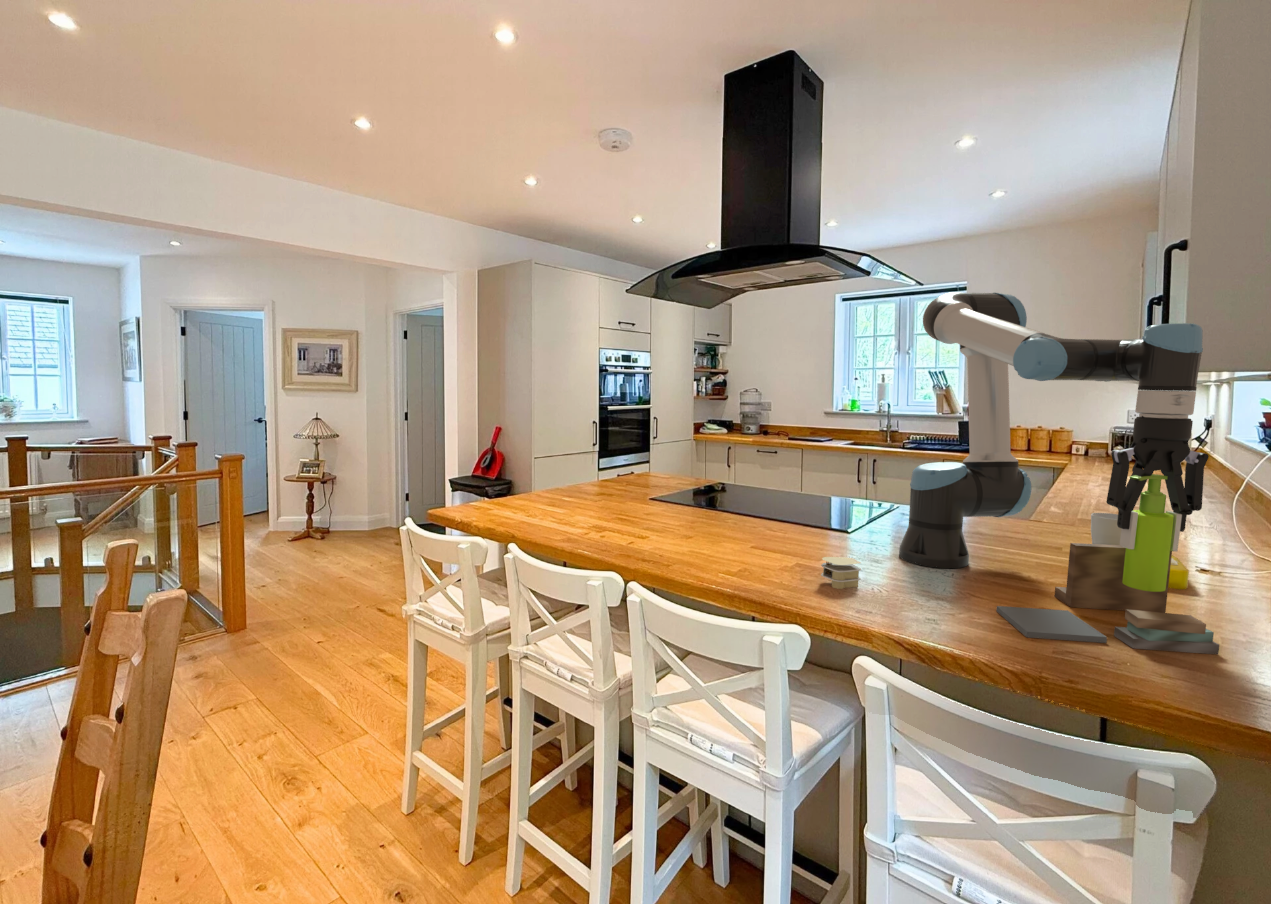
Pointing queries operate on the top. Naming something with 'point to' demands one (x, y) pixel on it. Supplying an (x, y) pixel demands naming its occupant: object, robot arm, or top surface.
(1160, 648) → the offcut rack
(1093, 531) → the cup
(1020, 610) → the slate mat
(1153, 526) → the soap dispenser
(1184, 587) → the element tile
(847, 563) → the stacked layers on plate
